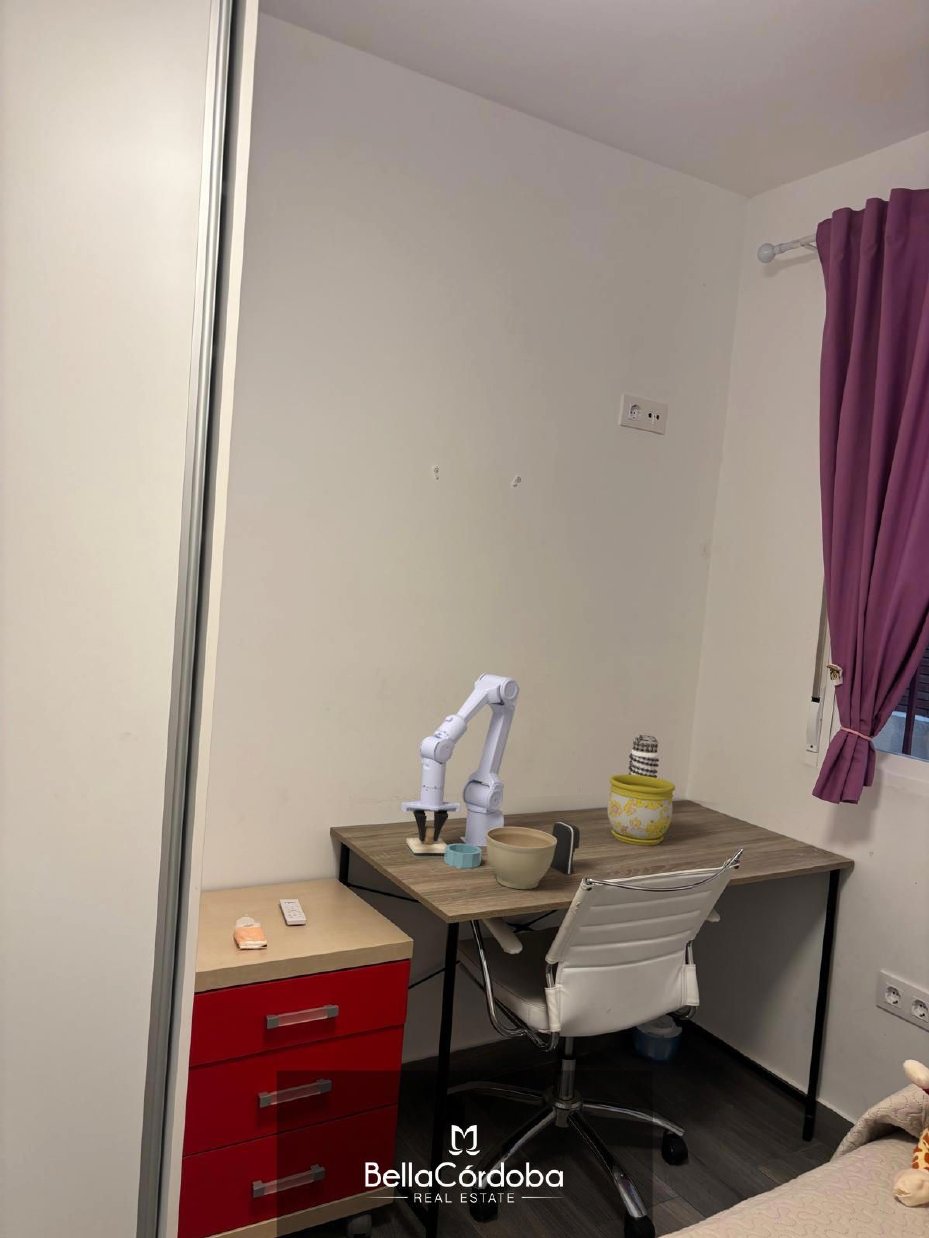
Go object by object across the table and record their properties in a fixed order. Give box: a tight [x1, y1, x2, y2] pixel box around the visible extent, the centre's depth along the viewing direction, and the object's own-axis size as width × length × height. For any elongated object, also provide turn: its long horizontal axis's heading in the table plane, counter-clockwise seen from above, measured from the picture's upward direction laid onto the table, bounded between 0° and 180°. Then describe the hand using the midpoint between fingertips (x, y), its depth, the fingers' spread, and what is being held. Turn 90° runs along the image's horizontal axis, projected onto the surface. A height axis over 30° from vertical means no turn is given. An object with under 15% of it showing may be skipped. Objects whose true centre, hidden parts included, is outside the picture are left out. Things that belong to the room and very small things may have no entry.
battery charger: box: [549, 821, 581, 875], centre depth 227 cm, size 7×4×11 cm, turn 32°
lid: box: [405, 825, 448, 853], centre depth 231 cm, size 9×9×5 cm
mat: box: [405, 845, 445, 858], centre depth 231 cm, size 9×9×1 cm
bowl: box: [443, 843, 483, 870], centre depth 224 cm, size 8×8×4 cm
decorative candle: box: [627, 734, 660, 778], centre depth 289 cm, size 9×9×25 cm
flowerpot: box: [607, 774, 676, 847], centre depth 262 cm, size 18×18×16 cm
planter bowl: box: [486, 826, 557, 890], centre depth 214 cm, size 16×16×11 cm
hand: (428, 840), depth 231 cm, fingers closed on lid, 3 cm apart
